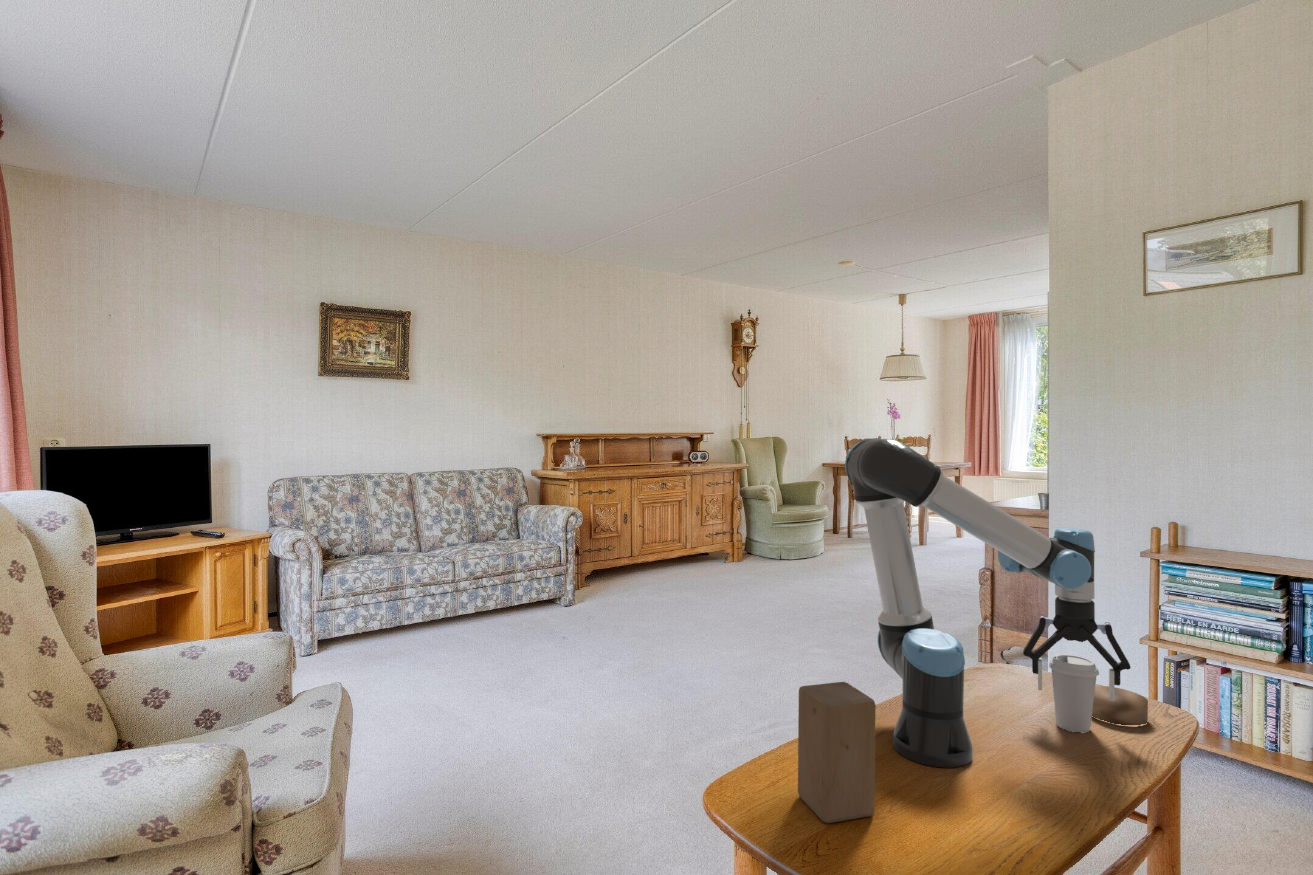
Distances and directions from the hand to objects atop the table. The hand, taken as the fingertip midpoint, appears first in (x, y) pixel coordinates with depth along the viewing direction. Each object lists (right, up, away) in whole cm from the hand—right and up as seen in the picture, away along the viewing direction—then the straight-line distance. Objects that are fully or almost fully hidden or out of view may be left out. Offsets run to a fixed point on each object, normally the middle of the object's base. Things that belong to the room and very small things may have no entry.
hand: (1075, 693), depth 151 cm
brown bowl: (+13, -8, +6) cm, 17 cm away
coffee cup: (0, -8, 0) cm, 8 cm away
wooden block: (-62, -7, -33) cm, 71 cm away
